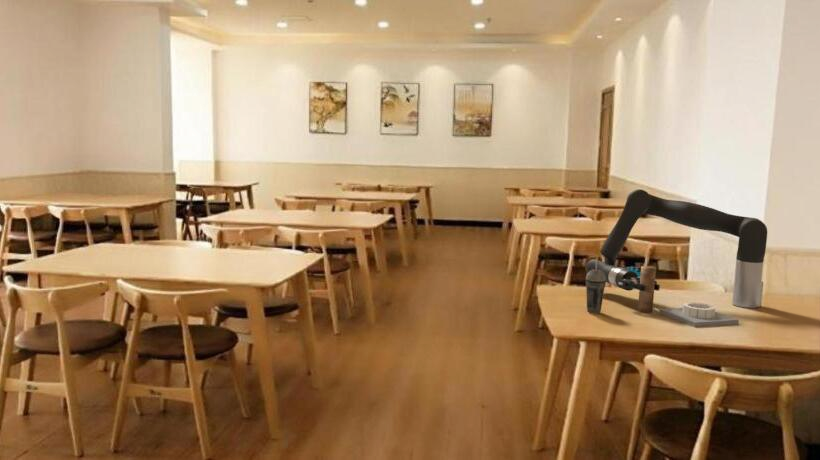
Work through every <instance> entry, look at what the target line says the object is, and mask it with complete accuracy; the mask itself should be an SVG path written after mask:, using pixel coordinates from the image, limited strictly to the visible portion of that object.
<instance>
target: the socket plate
mask: <svg viewBox="0 0 820 460" xmlns="http://www.w3.org/2000/svg"><path fill="white" fill-rule="evenodd" d="M658 312H659V314H660V315H663V316H665V317H668V318H670V319H673V320H675V321H679V322H681V323H683V324H685V325H688V326H690V327H693V326H694V328H698V327H701V328H702V327H715V326H717V327H718V326H727V325H731V326H732V325H739V324H740V323H739V322H740V319H737V318H734V317H732V316H729V315H726V314H723V313H720V312H717V311H716V307H715V306H714V305H711V304H707V303H702V302H685V303H683V304H682V307H679V308H659V311H658Z"/></svg>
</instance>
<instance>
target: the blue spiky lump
mask: <svg viewBox="0 0 820 460" xmlns="http://www.w3.org/2000/svg"><path fill="white" fill-rule="evenodd" d="M634 268H635V267H634V266H633V265H631V266H627V267H626V268H625V269H627V270H631V271H634V272H635V273H636V274H637V275H638V277H640V275H641V271H640V270H639V268H638V267H636V268H635V269H634Z"/></svg>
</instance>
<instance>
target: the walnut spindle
mask: <svg viewBox="0 0 820 460" xmlns="http://www.w3.org/2000/svg"><path fill="white" fill-rule="evenodd" d="M656 269H657V267H655V266H651V265H650V266H649V265H643V266H640V272H641V275H640V284H643V285H645V291H641V290H638V291H639V292H638V302H637V303H638V304H637V305H638V306H637V311H638V312H640V313H644V314H645V313H646V314H647V313H648V314H651V313H653V312H654V296H655V290H654V286H655V281H656V273H657V270H656Z"/></svg>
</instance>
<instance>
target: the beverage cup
mask: <svg viewBox="0 0 820 460" xmlns="http://www.w3.org/2000/svg"><path fill="white" fill-rule="evenodd" d="M595 259H596V269H592V270H590V271H589V272H588V273H587V272H586V276H585V286H586V287H585V288H586V311H587V313H588V312H589V313H588V314H591V313H596V314H595V315H598V314H597V313H600V314H601V312H602V311H601V310H602V304H603V299H604V293H605V287H606V283H607V282H606V276H605V274H604V272H603V271H601V270H599V269H597V260H599V259H598V256H596V257H595Z"/></svg>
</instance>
